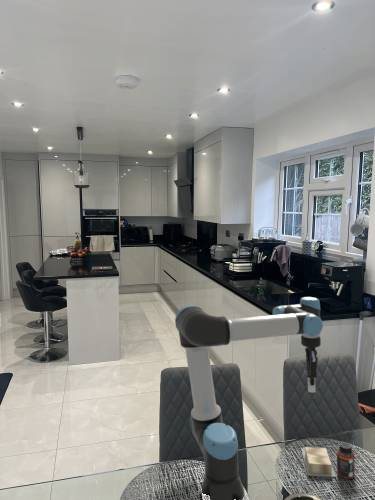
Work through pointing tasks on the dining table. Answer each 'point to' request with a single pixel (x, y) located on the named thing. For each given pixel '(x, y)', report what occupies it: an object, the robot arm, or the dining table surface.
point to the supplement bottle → (345, 461)
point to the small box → (318, 460)
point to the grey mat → (315, 473)
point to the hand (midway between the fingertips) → (311, 391)
